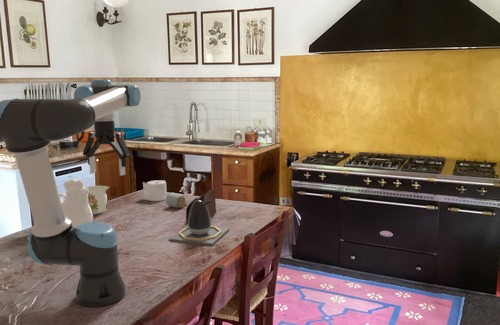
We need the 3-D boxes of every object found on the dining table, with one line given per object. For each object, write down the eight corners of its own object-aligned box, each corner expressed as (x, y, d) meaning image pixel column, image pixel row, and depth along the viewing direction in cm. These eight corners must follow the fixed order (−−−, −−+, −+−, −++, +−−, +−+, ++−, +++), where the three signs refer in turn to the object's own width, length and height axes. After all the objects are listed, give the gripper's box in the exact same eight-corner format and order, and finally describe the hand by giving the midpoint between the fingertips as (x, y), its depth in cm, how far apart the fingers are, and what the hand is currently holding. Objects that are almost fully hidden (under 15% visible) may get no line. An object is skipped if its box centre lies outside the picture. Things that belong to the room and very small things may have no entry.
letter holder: (216, 212, 234) (215, 186, 231) (205, 225, 215) (205, 196, 212) (197, 212, 236) (196, 185, 233) (185, 224, 216) (184, 195, 214)
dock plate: (212, 245, 187) (212, 241, 187) (169, 240, 194) (169, 236, 193) (229, 230, 206) (229, 226, 206) (189, 226, 212) (189, 222, 212)
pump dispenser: (214, 235, 197) (213, 201, 194) (191, 238, 193) (189, 204, 190) (208, 228, 206) (207, 196, 203) (185, 231, 202) (184, 198, 200)
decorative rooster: (101, 227, 212) (97, 176, 207) (78, 238, 197) (73, 183, 193) (58, 222, 220) (53, 172, 215) (33, 233, 205) (27, 180, 201)
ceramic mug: (177, 210, 239) (177, 195, 238) (165, 207, 243) (165, 194, 242) (190, 205, 248) (189, 191, 247) (178, 203, 252) (178, 190, 251)
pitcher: (85, 208, 244) (82, 183, 241) (116, 209, 240) (114, 184, 238) (73, 214, 233) (71, 188, 230) (106, 216, 230) (104, 189, 227)
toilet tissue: (169, 199, 259) (168, 182, 258) (149, 202, 253) (148, 185, 252) (163, 195, 268) (162, 179, 267) (143, 198, 263) (142, 181, 261)
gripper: (137, 119, 174) (140, 173, 178) (83, 118, 181) (87, 170, 185) (126, 121, 167) (129, 177, 171) (70, 120, 174) (75, 174, 178)
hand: (107, 174), depth 178 cm, fingers open, 13 cm apart
